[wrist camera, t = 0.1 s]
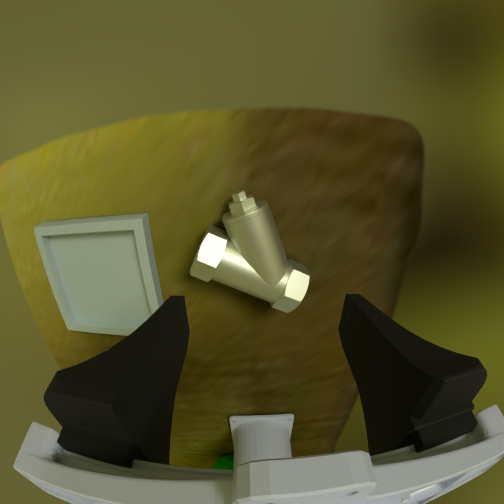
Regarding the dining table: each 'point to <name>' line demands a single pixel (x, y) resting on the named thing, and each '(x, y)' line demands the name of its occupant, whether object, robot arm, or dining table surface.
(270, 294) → the pipe fitting
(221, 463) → the polyhedron
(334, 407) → the dining table surface
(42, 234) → the tray
